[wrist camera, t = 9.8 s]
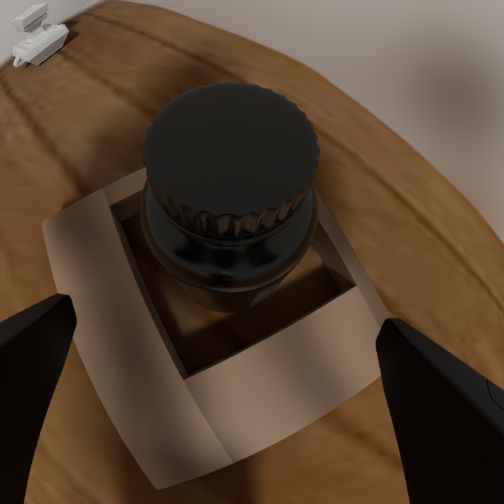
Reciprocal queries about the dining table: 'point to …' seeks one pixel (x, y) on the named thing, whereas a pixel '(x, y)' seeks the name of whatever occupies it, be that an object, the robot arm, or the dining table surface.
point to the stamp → (37, 36)
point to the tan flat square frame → (218, 373)
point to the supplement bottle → (229, 192)
